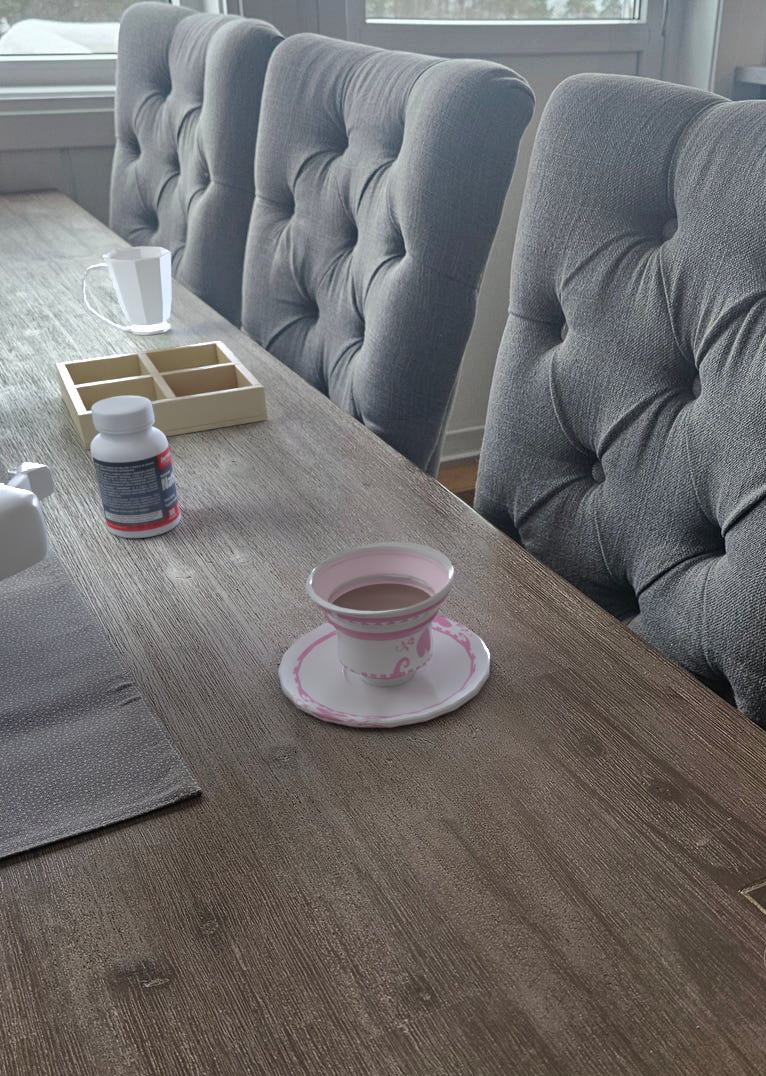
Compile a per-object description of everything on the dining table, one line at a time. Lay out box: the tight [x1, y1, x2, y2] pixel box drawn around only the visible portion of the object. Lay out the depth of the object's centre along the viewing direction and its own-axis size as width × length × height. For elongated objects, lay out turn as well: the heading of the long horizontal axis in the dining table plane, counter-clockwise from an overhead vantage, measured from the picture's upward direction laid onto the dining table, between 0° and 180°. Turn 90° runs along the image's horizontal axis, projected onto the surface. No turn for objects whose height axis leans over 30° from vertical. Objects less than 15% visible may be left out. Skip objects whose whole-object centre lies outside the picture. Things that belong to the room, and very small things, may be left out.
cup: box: [80, 245, 173, 336], centre depth 121 cm, size 7×10×8 cm
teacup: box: [277, 541, 491, 728], centre depth 62 cm, size 12×12×6 cm
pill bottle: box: [90, 396, 182, 539], centre depth 78 cm, size 5×5×9 cm
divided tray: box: [54, 340, 269, 451], centre depth 101 cm, size 16×16×3 cm
